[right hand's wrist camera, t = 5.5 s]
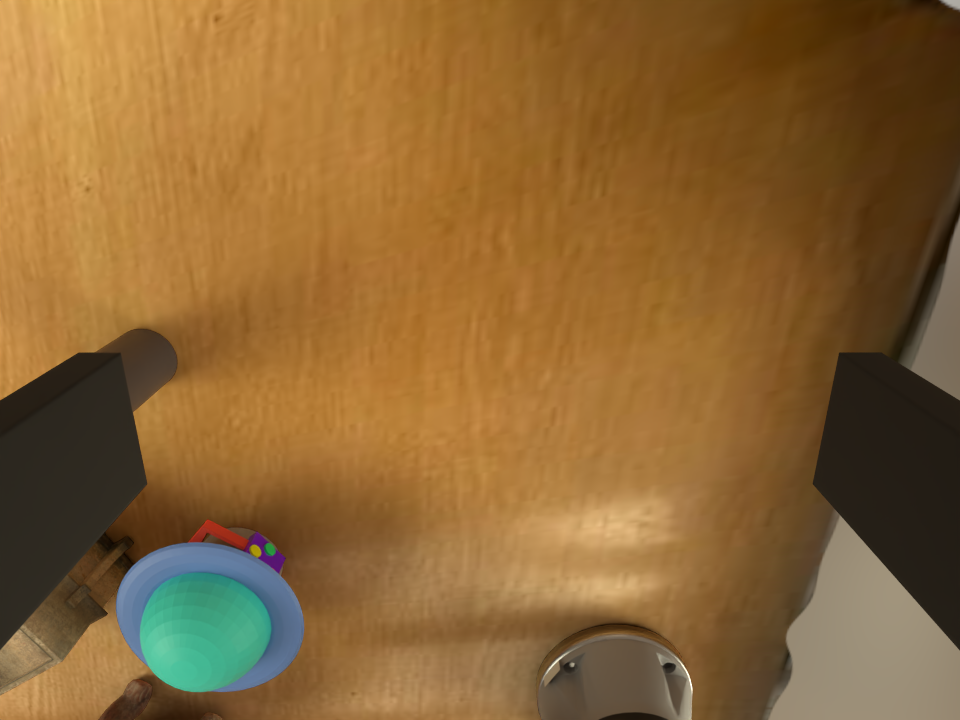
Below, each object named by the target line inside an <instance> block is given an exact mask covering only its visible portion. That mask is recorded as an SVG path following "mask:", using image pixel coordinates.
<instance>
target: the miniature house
mask: <svg viewBox="0 0 960 720" xmlns="http://www.w3.org/2000/svg"><path fill="white" fill-rule="evenodd" d="M133 543H134V542H133V541H132V540H131V539H130V538H129V537H128V536H127V537H125V538H123V539H121V540H120V541H118V542H116V543H113V542H112V541H111V540H110V539H109V538H108V537H107V536H106V535H105V534H104V533H103V535H102V536H101V537H100V538H99V539H98V540H97V541H96V542H95V544H94V545H93V546H92V547H91V548H90V549H89V550H88V552H87V553H86V554H85V555H84V556H83V557H82V558H81V559H80V561H79V562H78V563H77V564H76V565H75V566H74V567H73V569H72V570H71V571H70V572H69V573H68V574H67V575H66V576H65V578H64V579H63V580H62V581H61V582H60V583H59V584H58V585H57V587H56V588H55V589H54V590H53V591H52V592H51V593H50V595H49V596H48V597H47V598H46V599H45V600H44V601H43V602H42V604H41V605H40V606H39V607H38V608H37V609H36V610H35V611H34V613H33V614H32V615H31V616H30V617H29V618H28V619H27V621H26V622H25V623H24V624H23V625H22V626H21V627H20V628H19V630H18V631H17V632H16V633H15V634H14V635H13V636H12V637H11V639H10V640H9V641H8V642H7V643H6V644H5V645H4V647H3V648H2V649H1V650H0V695H2V694H4V693H5V692H7V691H9V690H11V689H13V688H15V687H16V686H18V685H20V684H22V683H24V682H26V681H27V680H29V679H31V678H33V677H35V676H37V675H38V674H40V673H42V672H44V671H46V670H48V669H49V668H51V667H53V666H55V665H57V664H59V663H60V662H62V661H63V660H64V658H65V657H66V656H67V654H68V653H69V652H70V650H71V649H72V648H73V646H74V645H75V644H76V643H77V641H78V640H79V639H80V637H81V636H82V635H83V633H84V632H85V631H86V629H87V628H88V627H89V625H90V624H92V623H94V622H95V621H97V620H99V619H101V618H103V617H104V616H106V615H107V614H108V613H107V612H106V611H105V610H104V609H103V607H104V605H105V604H106V603H107V602H108V600H109V599H110V598H111V596H112V595H113V594H114V592H115V591H116V590H117V588H118V587H119V586H120V584H121V582H122V580H123V578H124V577H125V575H126V574H127V572H128V571H129V570H130V569H131V567H132V566H133V565H134V564H133V563H132V562H131V561H130V560H129V559H128V558H127V557H126V556H125V555H124V554H123V553H124V552H125V551H126V550H127V549H129V548H130V547H131V546H132V544H133Z"/></svg>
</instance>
